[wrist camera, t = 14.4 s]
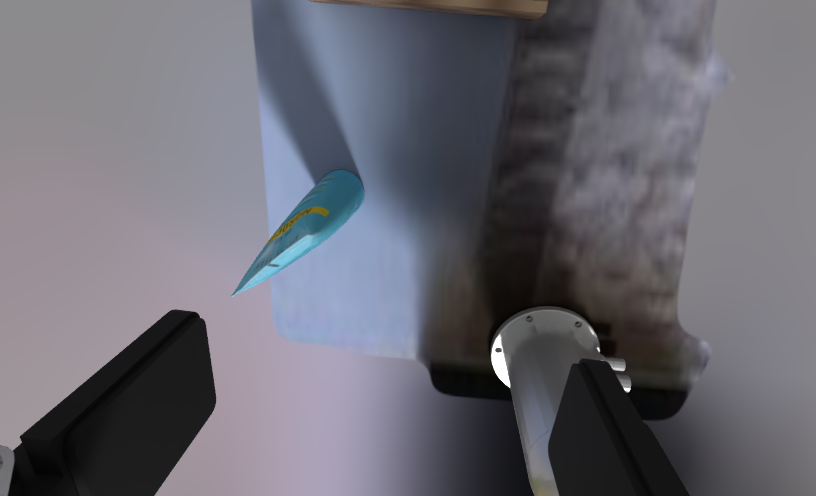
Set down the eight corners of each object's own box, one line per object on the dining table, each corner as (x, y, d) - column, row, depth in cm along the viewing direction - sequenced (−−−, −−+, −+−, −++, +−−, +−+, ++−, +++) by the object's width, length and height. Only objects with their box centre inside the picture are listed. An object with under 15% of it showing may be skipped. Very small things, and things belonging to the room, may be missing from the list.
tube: (348, 151, 41) (276, 205, 24) (381, 185, 42) (336, 261, 25) (303, 198, 44) (207, 278, 26) (335, 229, 45) (264, 326, 27)
